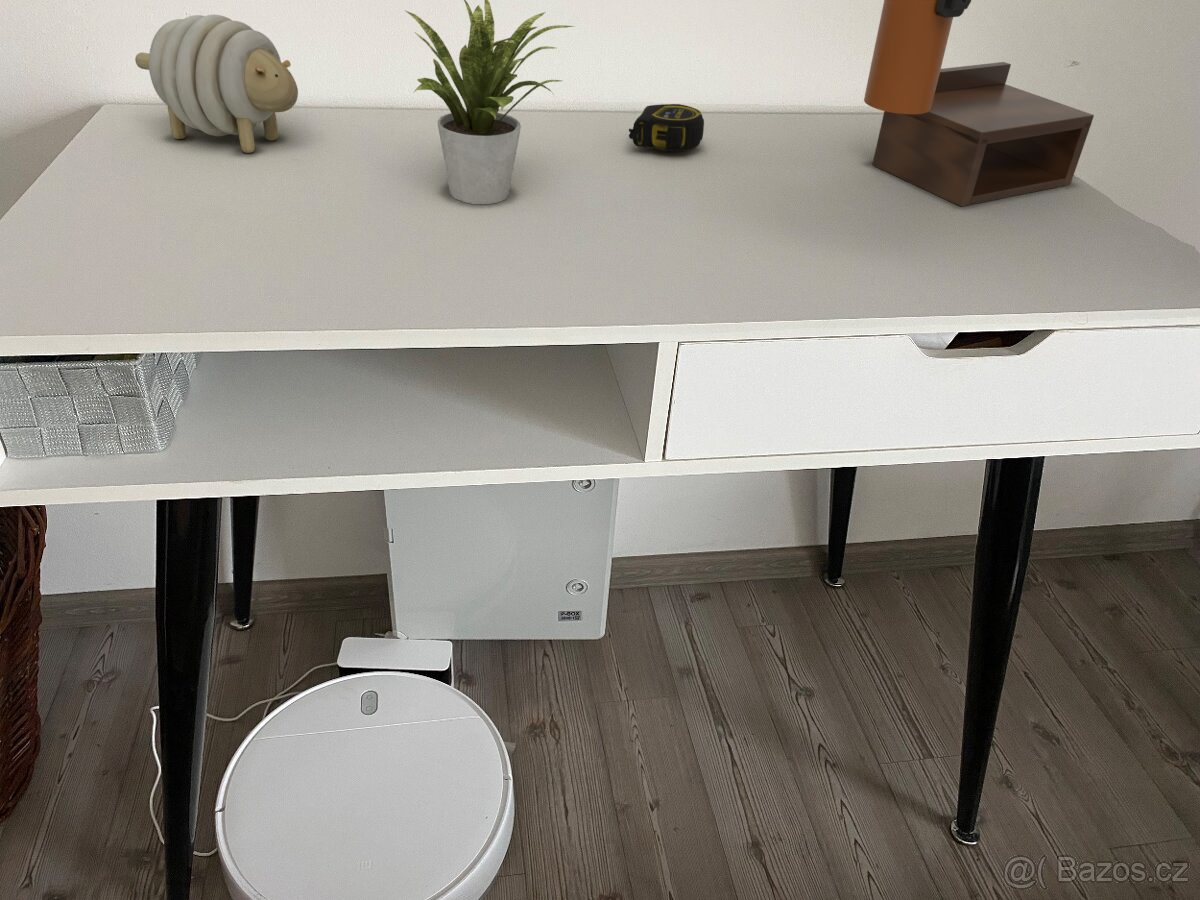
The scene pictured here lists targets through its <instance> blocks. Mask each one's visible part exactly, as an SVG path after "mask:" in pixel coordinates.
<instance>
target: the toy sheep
mask: <svg viewBox="0 0 1200 900" xmlns="http://www.w3.org/2000/svg"><path fill="white" fill-rule="evenodd" d="M134 61H135V64H136V66H137V67H138V68H139V69H142V70H147V71H148V72H149V76H150V77H149V78H150V80H151V84H152V87H153V89H154V91H155V92H156V95H157V96H158V97H159V99H160V100H161V101H162V102H163V103H164V104H165V106H167V111H168V119H169V124H170V130H171V131H170V132H171V135H172V137H173V138H174V139H176V140H183V139H185V138H186V136H187V130H186V126H188V127H190V128H192V129H194V130H199V131H201V132H202V133H205V134H207V135H210V136H212V137H213V136H214V137H224V136H225V137H226V136H228V135H236V136H238V138H239V144H240V149H241V151H242V152H244V153H245V154H246V153H247V154H251V153H253V152H254V151H255V149H256V143H255V137H254V130H253V129H254V127H255V126H256V125H257V124H261V123H263V124H262V125H263V133H264V138H265V139H266V140H268V141H271V142H272V141H276V140H277V139H278V138H279V130H278V121H277V113H285V112H287V111H289V110H291V109H292V108H293V107H294V106H295V105H296V103H297V101H298V96H299V89H298V84H297V82H296V80H295V78H294V76H293V75H292V73H291V71H290V70H289V68H290V67H291V65H292V64H291V61H290V60H288V59H286V60H284V61H283V62H282V60H281V57H280V54H279V52H278V50H277V48H276V46H275V45H274V43H273V42H272V40H271V39H270V38H269V37H268V36H267V35H266V34H264V33H262V32H261V31H259V30H255V29H254V28H252V27H251V26H250V25H248V24H246V23H245V22H242V21H238V20H232V19H231V18H229V17H227V16H224V15H220V14H207V15H202V14H196V15H195V14H194V15H190V16H187V17H185V18H176V19H172V20H169V21H167V22H166V23H164V24H162V26H161V27H159V29H158V30H157V31H156V33H155V35H154V36H153V38H152V41H151V44H150V47H149V52H139V53H137V54H136V56H135V59H134Z"/></svg>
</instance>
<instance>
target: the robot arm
mask: <svg viewBox="0 0 1200 900" xmlns="http://www.w3.org/2000/svg"><path fill="white" fill-rule="evenodd" d="M971 3H972V0H937V4H936V8H935V13H936V15H938V16H941V17H944V18H949V17H953V18H959V17H961V16H962V15H963V13H964V12H965V10H967V9H968V8H969V6H970V4H971Z"/></svg>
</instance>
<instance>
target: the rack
mask: <svg viewBox="0 0 1200 900" xmlns="http://www.w3.org/2000/svg"><path fill="white" fill-rule="evenodd" d="M1011 66H1012V63H1008V62H1006V61H999V62H991V63H982V64H980V63H979V64H971V65H965V66H962V65H961V66H953V67H946V68H941V70H940V74H939V78H938V82H937V86H936V90H935V95H934V99H933V103H932V107H931V110H930V111H929V112H926V113H922V114H898V113H891V112H886V111H883V115H882V119H881V123H880V129H879V133H878V137H877V142H876V146H875V151H874V154H873V159H872V163H871V164H872V166H874V167H876V168H878V169H881V170H882V171H885V172H886V173H889V174H891V175H893V176H894V177H895V176H896V177H898V178H900V179H901V180H904V181H906V182H908V183H910V184H912V185H915V186H917V187H918V188H920V189H923V190H925V191H927V192H929V193H931V194H933V195H935V196H938V197H939V198H941V199H944V200H946V201H948V202H950V203H953V204H955V205H957V206H959V207H965V206H969V205H974V204H975V205H976V204H981V203H984V202H985V203H986V202H989V201H995V200H999V199H1005V198H1009V197H1014V196H1015V197H1016V196H1021V195H1024V194H1025V195H1026V194H1030V193H1035V192H1040V191H1045V190H1050V189H1054V188H1060V187H1064V186H1069V185H1071V184H1072V181H1073V178H1074V175H1075V172H1076V170H1077V167H1078V164H1079V162H1080V158H1081V155H1082V152H1083V149H1084V146H1085V144H1086V141H1087V138H1088V135H1089V132H1090V129H1091V126H1092V123H1093V120H1094V116H1095V115H1094V114H1092V113H1089V112H1087V111H1083V110H1080V109H1077V108H1075V107H1072V106H1069V105H1066V104H1063V103H1061V102H1058V101H1055V100H1052V99H1049V98H1047V97H1043V96H1040V95H1037V94H1034V93H1032V92H1030V91H1026V90H1023V89H1021V88H1017V87H1014V86H1012V85H1009V84H1006V83H1007V80H1008V76H1009V73H1010V69H1011Z"/></svg>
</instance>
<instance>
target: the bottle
mask: <svg viewBox="0 0 1200 900" xmlns="http://www.w3.org/2000/svg"><path fill="white" fill-rule="evenodd" d="M936 4H937V0H883V5H882V9H881V14H880V19H879V24H878V28H877V34H876V38H875V43H874V48H873V53H872V54H873V55H872V58H871V62H870V68H869V73H868V77H867V82H866V88H865V91H864V92H865V93H864V98H863V101H864V103H865V104H866V105H867V106H869V107H871V108H873V109H875V110H878V111H883V112H884V111H886V112H891V113H898V114H922V113H926V112H929V111H930V110H931V107H932V103H933V99H934V95H935V90H936V86H937V82H938V78H939V74H940V70H941V69H942V65H943V63H944V62H943V61H944V57H945V54H946V49H947V45H948V41H949V36H950V32H951V28H952V24H953V20H954V17H949V18H944V17H941V16H938V15H936V13H935V8H936Z"/></svg>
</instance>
